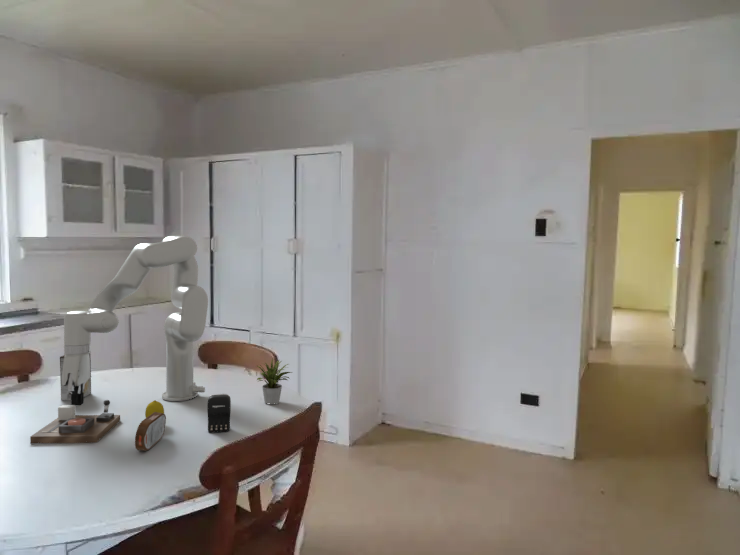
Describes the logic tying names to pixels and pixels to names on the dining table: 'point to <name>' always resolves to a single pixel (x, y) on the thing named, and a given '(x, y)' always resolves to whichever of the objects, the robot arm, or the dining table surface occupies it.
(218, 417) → the battery charger
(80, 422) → the push button
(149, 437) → the tin
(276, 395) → the house plant
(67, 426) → the control board
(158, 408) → the lemon
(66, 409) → the block
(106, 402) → the toggle lever
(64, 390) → the coffee box
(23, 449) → the dining table surface
